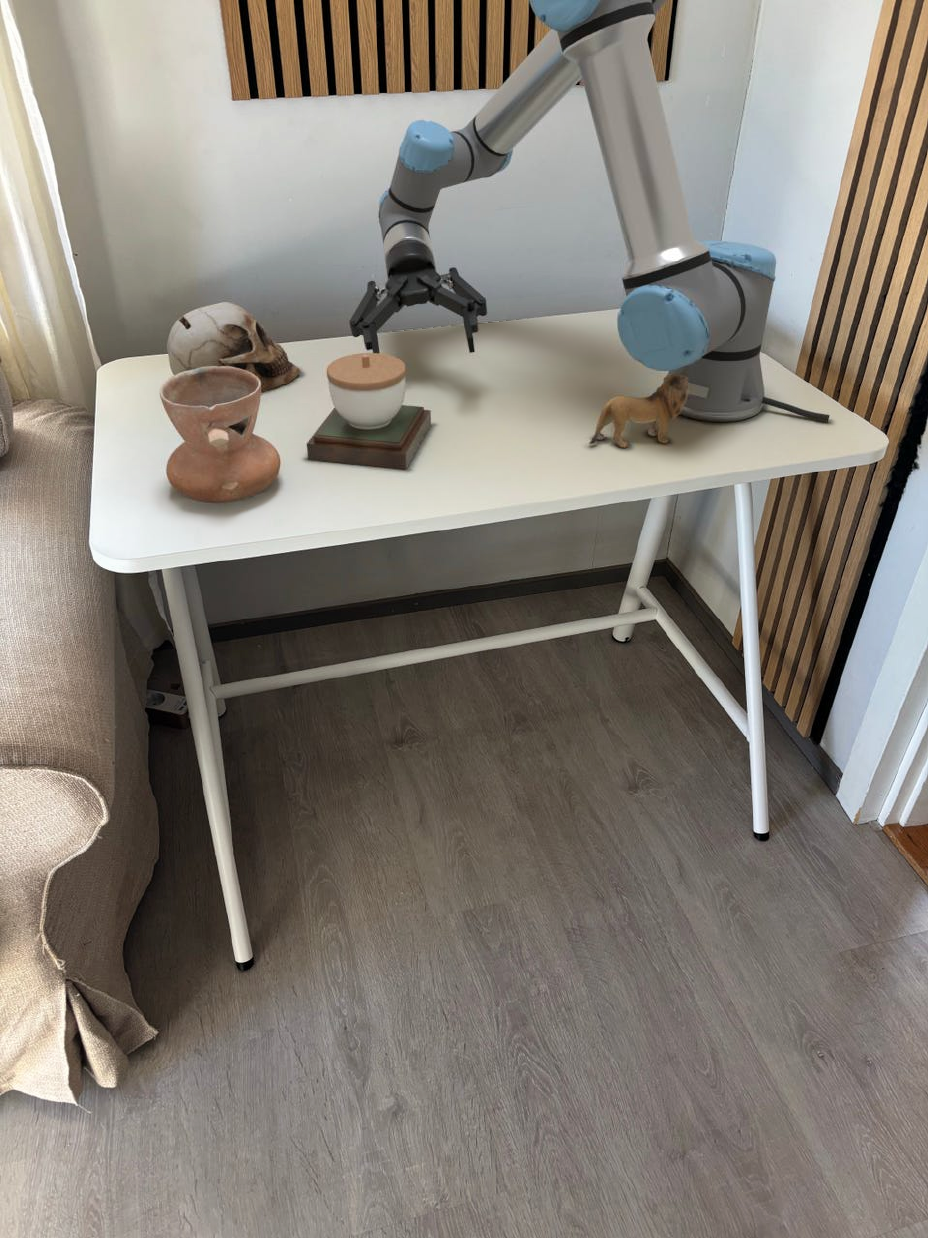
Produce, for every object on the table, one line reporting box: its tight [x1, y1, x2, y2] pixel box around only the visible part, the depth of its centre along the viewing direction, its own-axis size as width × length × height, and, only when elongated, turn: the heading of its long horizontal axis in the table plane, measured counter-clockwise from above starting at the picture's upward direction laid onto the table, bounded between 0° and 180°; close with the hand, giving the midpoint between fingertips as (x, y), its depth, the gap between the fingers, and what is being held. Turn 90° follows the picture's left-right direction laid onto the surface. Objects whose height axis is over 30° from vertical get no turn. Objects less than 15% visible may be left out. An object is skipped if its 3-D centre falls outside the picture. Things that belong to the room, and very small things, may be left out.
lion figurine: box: [588, 373, 690, 448], centre depth 134 cm, size 15×5×9 cm, turn 110°
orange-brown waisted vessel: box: [159, 366, 282, 504], centre depth 123 cm, size 18×14×14 cm
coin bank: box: [166, 301, 301, 392], centre depth 150 cm, size 16×17×13 cm
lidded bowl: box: [326, 352, 407, 430], centre depth 132 cm, size 11×11×9 cm
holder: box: [306, 404, 432, 470], centre depth 136 cm, size 14×14×3 cm
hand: (424, 353), depth 137 cm, fingers open, 13 cm apart
